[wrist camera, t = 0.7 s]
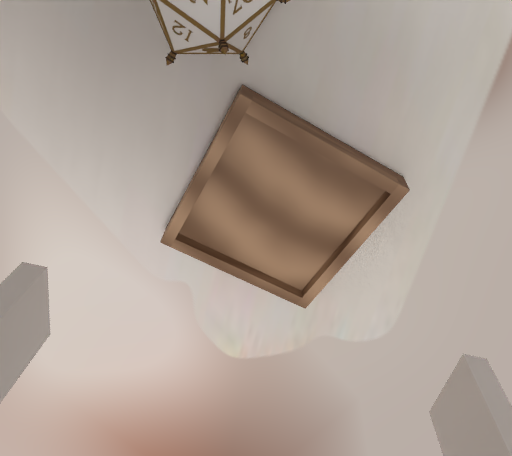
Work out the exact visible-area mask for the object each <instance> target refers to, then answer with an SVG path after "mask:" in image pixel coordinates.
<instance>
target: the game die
mask: <svg viewBox="0 0 512 456" xmlns="http://www.w3.org/2000/svg"><path fill="white" fill-rule="evenodd" d="M276 1H280V2H281V3H282V2H284V3H285V4H286V2H288V1H290V0H150V2H151V4H152V7H153V9H154V11H155V13H156V16H157V18H158V20H159V23H160V25H161V27H162V30H163V32H164V34H165V37H166V39H167V41H168V44H169V46H170V48H171V52H170V53H169V54H168V56H167V57H165V58H166V62H167V65H169V64H171V63H174V59H176V58H175V56H176V54H225V55H226V54H240V59H241V61H242V62H244V63H246V64H247V65H248V58H249V56H247V53H245V52H244V49H245V48H246V46H247V45H248V43H249V42H250V40H251V39H252V37H253V36H254V34H255V33H256V31H257V29H258V28H259V26H260V25H261V23H262V22H263V20H264V19H265V17H266V16H267V14H268V13H269V11H270V10H271V8H272V7H273V5H274V3H275V2H276Z"/></svg>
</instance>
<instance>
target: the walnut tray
mask: <svg viewBox="0 0 512 456" xmlns="http://www.w3.org/2000/svg"><path fill="white" fill-rule="evenodd" d="M408 191H409V188H408V186H407V183H406V181H405V179H404V177H402V176H401V175H399V174H397V173H395V172H394V171H392V170H390V169H389V168H387V167H385V166H383V165H382V164H380V163H378V162H376V161H375V160H373V159H371V158H369V157H368V156H366V155H364V154H362V153H361V152H359V151H357V150H355V149H354V148H352V147H350V146H348V145H347V144H345V143H343V142H341V141H340V140H338V139H336V138H334V137H333V136H331V135H329V134H327V133H326V132H324V131H322V130H321V129H319V128H317V127H315V126H314V125H312V124H310V123H308V122H307V121H305V120H303V119H301V118H300V117H298V116H296V115H294V114H293V113H291V112H289V111H287V110H286V109H284V108H282V107H280V106H279V105H277V104H275V103H273V102H272V101H270V100H268V99H266V98H265V97H263V96H261V95H259V94H258V93H256V92H254V91H253V90H251V89H249V88H247V87H246V86H244V85H242V86H241V88H240V90H239V92H238V94H237V96H236V97H235V99H234V101H233V103H232V105H231V107H230V109H229V111H228V112H227V114H226V116H225V118H224V120H223V122H222V124H221V126H220V128H219V129H218V131H217V133H216V135H215V137H214V139H213V141H212V143H211V144H210V146H209V148H208V150H207V152H206V154H205V156H204V158H203V160H202V161H201V163H200V165H199V167H198V169H197V171H196V173H195V175H194V176H193V178H192V180H191V182H190V184H189V186H188V188H187V190H186V191H185V193H184V195H183V197H182V199H181V201H180V203H179V205H178V207H177V208H176V210H175V212H174V214H173V216H172V218H171V220H170V222H169V223H168V225H167V227H166V229H165V232H164V234H163V237H162V239H161V243H163V244H165V245H167V246H169V247H172V248H174V249H176V250H178V251H180V252H183V253H185V254H187V255H189V256H191V257H194V258H196V259H198V260H200V261H202V262H204V263H207V264H209V265H211V266H213V267H215V268H218V269H220V270H222V271H224V272H226V273H229V274H231V275H233V276H235V277H237V278H239V279H242V280H244V281H246V282H248V283H250V284H253V285H255V286H257V287H259V288H261V289H264V290H266V291H268V292H270V293H272V294H274V295H277V296H279V297H281V298H283V299H285V300H288V301H290V302H292V303H294V304H296V305H299V306H301V307H303V308H306V307H307V306H308V305H309V304H310V303H311V302H312V300H313V299H314V298H315V297H316V296H317V295H318V294H319V292H320V291H321V290H322V289H323V288H324V287H325V286H326V285H327V283H328V282H329V281H330V280H331V279H332V278H333V277H334V275H335V274H336V273H337V272H338V271H339V270H340V269H341V268H342V266H343V265H344V264H345V263H346V262H347V261H348V260H349V258H350V257H351V256H352V255H353V254H354V253H355V252H356V250H357V249H358V248H359V247H360V246H361V245H362V244H363V243H364V241H365V240H366V239H367V238H368V237H369V236H370V235H371V233H372V232H373V231H374V230H375V229H376V228H377V227H378V226H379V224H380V223H381V222H382V221H383V220H384V219H385V218H386V216H387V215H388V214H389V213H390V212H391V211H392V210H393V208H394V207H395V206H396V205H397V204H398V203H399V202H400V201H401V199H402V198H403V197H404V196H405V195H406V194H407V193H408Z"/></svg>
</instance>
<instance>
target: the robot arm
mask: <svg viewBox="0 0 512 456" xmlns="http://www.w3.org/2000/svg"><path fill="white" fill-rule="evenodd" d="M48 297H49V295H48V273H47V267H44V266H39V265H34V264H29V263H24V262H22V263H21V264H20V265H19V266H18V267H17V268H16V269H15V270H14V271H13V272H12V273H11V274H10V275H9V276H8V277H7V278H6V279H5V280H4V281H3V282H2V283H1V284H0V403H1V401H2V400H3V398H4V397H5V396H6V395H7V393H8V392H9V390H10V389H11V388H12V386H13V385H14V384H15V382H16V381H17V379H18V378H19V377H20V375H21V374H22V372H23V371H24V369H25V368H26V367H27V366H28V364H29V363H30V361H31V360H32V359H33V357H34V356H35V355H36V353H37V352H38V350H39V349H40V348H41V346H42V345H43V343H44V342H45V341H46V339H47V338H48V337H49V335H50V320H49V298H48ZM429 412H430V416H431V419H432V422H433V425H434V428H435V431H436V435H437V438H438V441H439V444H440V447H441V450H442V453H443V456H512V406H511V404H510V402H509V400H508V398H507V396H506V394H505V392H504V391H503V389H502V387H501V385H500V383H499V381H498V379H497V377H496V375H495V373H494V372H493V370H492V368H491V366H490V364H489V362H488V360H487V359H485V358H480V357H475V356H470V355H466V354H463V355H462V357H461V358H460V360H459V362H458V364H457V365H456V367H455V369H454V370H453V372H452V374H451V376H450V377H449V379H448V381H447V382H446V384H445V386H444V388H443V389H442V391H441V393H440V394H439V396H438V398H437V399H436V401H435V403H434V405H433V406H432V408H431V410H430V411H429Z"/></svg>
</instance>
